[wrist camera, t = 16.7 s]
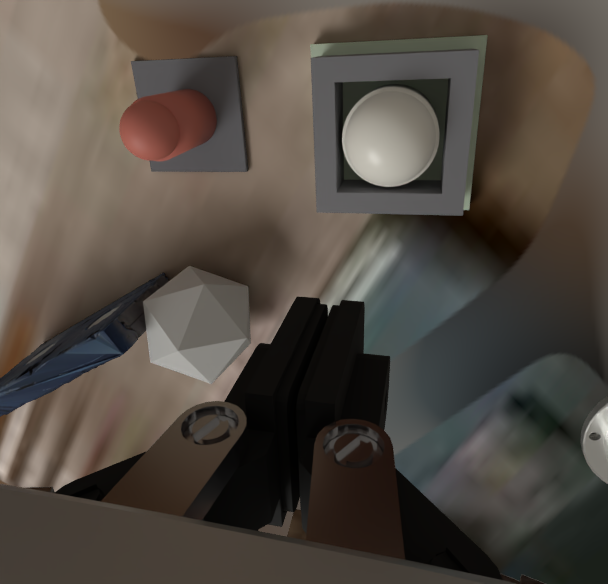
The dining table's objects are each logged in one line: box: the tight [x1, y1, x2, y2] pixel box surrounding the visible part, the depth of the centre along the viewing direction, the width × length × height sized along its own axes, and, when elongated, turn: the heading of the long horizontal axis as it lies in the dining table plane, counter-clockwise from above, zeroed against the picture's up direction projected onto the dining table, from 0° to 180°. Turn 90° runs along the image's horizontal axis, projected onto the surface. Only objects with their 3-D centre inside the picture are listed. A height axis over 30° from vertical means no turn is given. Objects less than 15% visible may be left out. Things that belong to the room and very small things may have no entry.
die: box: [143, 266, 251, 384], centre depth 41 cm, size 8×9×10 cm
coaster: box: [131, 56, 248, 172], centre depth 37 cm, size 8×8×1 cm
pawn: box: [120, 89, 217, 161], centre depth 33 cm, size 4×4×8 cm
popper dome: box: [342, 84, 439, 187], centre depth 31 cm, size 6×6×6 cm
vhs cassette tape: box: [0, 273, 169, 416], centre depth 44 cm, size 18×3×10 cm, turn 121°
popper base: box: [310, 35, 488, 215], centre depth 33 cm, size 11×11×4 cm
